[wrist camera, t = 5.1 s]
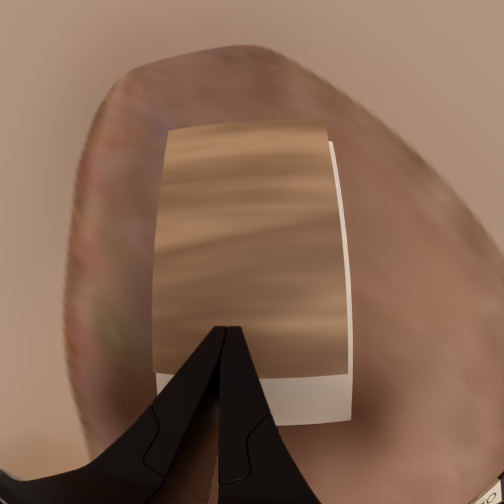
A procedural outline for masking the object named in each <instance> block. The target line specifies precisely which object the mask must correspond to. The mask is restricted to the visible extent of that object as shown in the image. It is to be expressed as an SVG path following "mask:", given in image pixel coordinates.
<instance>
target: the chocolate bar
mask: <svg viewBox="0 0 504 504" xmlns="http://www.w3.org/2000/svg"><path fill="white" fill-rule="evenodd" d="M502 500H504V472H503V473H502V474H501V475H500V476H499V477H498V478H497V479H496V480H495V481H494V482H492V483H491V484H490V485H489V486H488V487H487V488H486V489H485V490H484V491H483V492H482V493H480V494H479V495H478V496H477V497H476V498H475V499H473V500H472V501H471V502H470V503H469V504H497V503H499V502H500V501H502Z"/></svg>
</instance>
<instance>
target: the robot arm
mask: <svg viewBox="0 0 504 504" xmlns="http://www.w3.org/2000/svg"><path fill="white" fill-rule="evenodd" d="M151 404H152V405H149V406H148V407H147V409H146V410H145V411H144V412H143V413H142V414H141V416H140V417H139V418H138V419H137V420H136V421H135V422H134V423H133V424H132V425H131V426H130V427H129V428H128V429H127V430H126V431H125V432H124V433H123V434H122V435H121V436H120V437H119V438H118V439H117V440H116V441H115V442H114V443H112V444H111V445H110V446H109V447H108V448H107V449H106V450H105V451H104V452H102V453H101V454H100V455H99V456H98V457H97V458H96V459H94V460H93V461H92V462H90V463H89V464H87V465H85V466H84V467H81V468H79V469H76V470H72V471H68V472H65V473H61V474H57V475H53V476H49V477H45V478H40V479H35V480H29V481H23V480H21V479H20V478H18V477H16V476H14V475H12V474H11V473H9V472H7V471H5V470H2V469H0V504H208V502H207V501H208V499H209V494H210V488H211V483H212V478H213V473H214V468H215V462H216V457H217V452H218V447H219V485H220V486H219V497H218V504H322V503H321V502H320V501H319V500H318V498H317V497H316V496H315V494H314V493H313V491H312V490H311V488H310V487H309V485H308V483H307V482H306V480H305V479H304V477H303V475H302V474H301V472H300V470H299V469H298V467H297V465H296V464H295V462H294V460H293V459H292V457H291V455H290V454H289V452H288V450H287V448H286V446H285V444H284V442H283V440H282V438H281V436H280V434H279V431H278V429H277V426H276V424H275V421H274V419H273V416H272V414H271V411H270V408H269V405H268V402H267V400H266V397H265V394H264V391H263V388H262V386H261V383H260V380H259V377H258V374H257V371H256V368H255V365H254V363H253V360H252V357H251V354H250V351H249V348H248V345H247V342H246V339H245V336H244V333H243V330H242V327H241V326H228V327H227V326H214V327H213V328H212V329H211V330H210V332H209V333H208V334H207V335H206V337H205V338H204V339H203V340H202V342H201V343H200V344H199V345H198V347H197V348H196V349H195V350H194V352H193V353H192V354H191V355H190V356H189V358H188V359H187V360H186V361H185V363H184V364H183V365H182V366H181V367H180V369H179V370H178V371H177V372H176V374H175V375H174V376H173V377H172V378H171V380H170V381H169V382H168V383H167V385H166V386H165V387H164V388H163V389H162V391H161V392H160V393H159V394H158V395H157V397H156V398H155V399H154V400H153V401H152V403H151ZM497 504H504V500H502V501H500V502H499V503H497Z"/></svg>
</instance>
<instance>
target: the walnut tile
mask: <svg viewBox="0 0 504 504" xmlns="http://www.w3.org/2000/svg"><path fill="white" fill-rule="evenodd" d="M214 326H227V327H228V326H241V327H242V330H243V333H244V336H245V339H246V342H247V345H248V348H249V351H250V354H251V357H252V360H253V363H254V365H255V368H256V371H257V374H258V377H259V379H272V378H301V377H317V376H330V375H341V374H348V318H347V295H346V278H345V265H344V253H343V242H342V232H341V223H340V214H339V206H338V199H337V191H336V184H335V178H334V171H333V165H332V159H331V153H330V147H329V142H328V137H327V131H326V126H325V121H324V119H277V120H257V121H243V122H231V123H221V124H212V125H203V126H196V127H188V128H182V129H175V130H169V132H168V138H167V144H166V150H165V157H164V164H163V171H162V178H161V186H160V194H159V203H158V212H157V223H156V234H155V247H154V263H153V285H152V365H153V373H161V374H170V375H175V374H176V372H177V371H178V370H179V369H180V367H181V366H182V365H183V364H184V363H185V361H186V360H187V359H188V358H189V356H190V355H191V354H192V353H193V352H194V350H195V349H196V348H197V347H198V345H199V344H200V343H201V342H202V340H203V339H204V338H205V337H206V335H207V334H208V333H209V332H210V330H211V329H212V328H213V327H214Z"/></svg>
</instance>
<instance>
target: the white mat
mask: <svg viewBox="0 0 504 504" xmlns="http://www.w3.org/2000/svg"><path fill="white" fill-rule="evenodd" d="M329 147H330V153H331V159H332V165H333V171H334V178H335V184H336V191H337V199H338V206H339V214H340V223H341V232H342V242H343V253H344V265H345V278H346V295H347V318H348V374H341V375H330V376H317V377H301V378H272V379H259V380H260V383H261V386H262V388H263V391H264V394H265V397H266V400H267V402H268V405H269V408H270V411H271V414H272V416H273V419H274V421H275V424H276V426H282V425H305V424H319V423H330V422H339V421H347V420H351V407H352V379H353V332H352V303H351V285H350V271H349V259H348V248H347V238H346V229H345V220H344V212H343V204H342V197H341V190H340V183H339V177H338V171H337V165H336V159H335V153H334V148H333V143H332V142H329ZM173 376H174V375H170V374H161V373H156V382H157V395H158V394H159V393H160V392H161V391H162V389H163V388H164V387H165V386H166V385H167V383H168V382H169V381H170V380H171V378H172V377H173Z"/></svg>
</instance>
